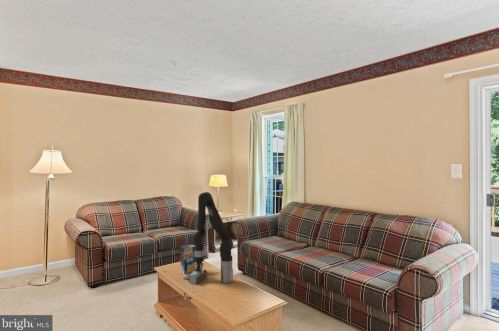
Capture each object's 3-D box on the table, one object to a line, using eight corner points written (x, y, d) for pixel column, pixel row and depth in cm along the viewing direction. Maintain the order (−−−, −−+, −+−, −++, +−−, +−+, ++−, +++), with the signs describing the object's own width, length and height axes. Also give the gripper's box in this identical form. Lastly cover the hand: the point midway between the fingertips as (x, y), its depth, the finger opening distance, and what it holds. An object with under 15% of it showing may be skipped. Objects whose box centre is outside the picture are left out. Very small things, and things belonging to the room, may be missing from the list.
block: (200, 280, 245) (199, 271, 245) (195, 283, 238) (195, 275, 238) (194, 279, 247) (194, 271, 247) (189, 283, 239) (189, 274, 239)
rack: (206, 276, 253) (206, 269, 253) (199, 283, 239) (199, 275, 239) (195, 275, 255) (195, 268, 255) (188, 282, 241) (188, 274, 241)
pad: (198, 276, 254) (198, 275, 254) (193, 280, 245) (193, 279, 245) (188, 275, 256) (188, 274, 256) (183, 279, 247) (183, 278, 247)
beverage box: (195, 270, 267) (195, 245, 268) (184, 273, 260) (184, 248, 260) (191, 268, 273) (191, 244, 273) (180, 271, 265) (180, 246, 265)
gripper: (200, 258, 242) (199, 279, 242) (206, 253, 255) (206, 274, 255) (191, 257, 244) (191, 278, 244) (198, 252, 257) (198, 273, 257)
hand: (198, 276), depth 250 cm, fingers closed
